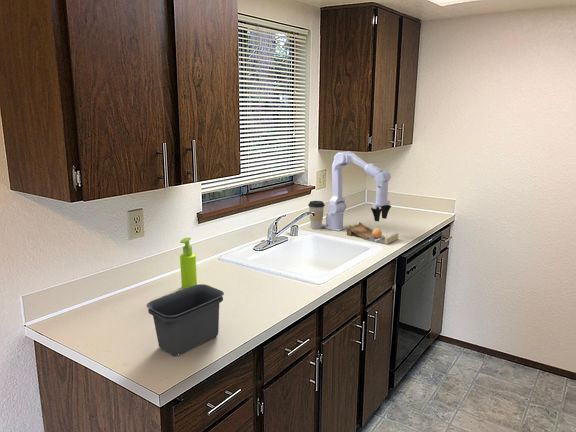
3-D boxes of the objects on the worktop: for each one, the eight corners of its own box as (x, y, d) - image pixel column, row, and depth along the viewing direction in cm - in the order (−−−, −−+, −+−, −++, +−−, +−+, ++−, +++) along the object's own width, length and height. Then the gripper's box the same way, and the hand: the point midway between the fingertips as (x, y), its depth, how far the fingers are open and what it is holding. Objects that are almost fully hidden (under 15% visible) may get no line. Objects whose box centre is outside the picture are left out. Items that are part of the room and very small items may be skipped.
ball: (370, 238, 245) (370, 228, 244) (375, 236, 249) (375, 227, 248) (378, 239, 242) (379, 230, 241) (383, 237, 246) (383, 228, 245)
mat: (363, 239, 244) (364, 233, 243) (375, 234, 253) (375, 228, 252) (386, 244, 236) (387, 238, 235) (398, 239, 244) (398, 233, 244)
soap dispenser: (177, 290, 179) (174, 240, 174) (185, 283, 186) (183, 235, 181) (192, 291, 178) (189, 241, 173) (199, 284, 184) (197, 236, 179)
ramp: (346, 236, 253) (347, 225, 251) (356, 232, 260) (356, 221, 258) (368, 241, 244) (369, 229, 242) (378, 237, 251) (378, 225, 249)
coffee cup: (316, 224, 273) (316, 199, 269) (327, 228, 266) (328, 202, 262) (304, 227, 267) (304, 201, 264) (315, 230, 260) (316, 204, 257)
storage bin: (172, 364, 129) (169, 317, 126) (141, 345, 139) (137, 301, 135) (230, 336, 145) (228, 293, 141) (198, 321, 154) (196, 280, 151)
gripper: (381, 197, 233) (380, 223, 236) (395, 193, 244) (394, 218, 247) (369, 195, 238) (368, 221, 241) (383, 191, 248) (382, 216, 252)
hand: (380, 219), depth 244 cm, fingers open, 7 cm apart
